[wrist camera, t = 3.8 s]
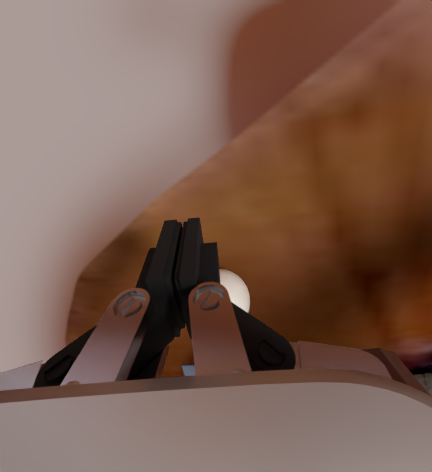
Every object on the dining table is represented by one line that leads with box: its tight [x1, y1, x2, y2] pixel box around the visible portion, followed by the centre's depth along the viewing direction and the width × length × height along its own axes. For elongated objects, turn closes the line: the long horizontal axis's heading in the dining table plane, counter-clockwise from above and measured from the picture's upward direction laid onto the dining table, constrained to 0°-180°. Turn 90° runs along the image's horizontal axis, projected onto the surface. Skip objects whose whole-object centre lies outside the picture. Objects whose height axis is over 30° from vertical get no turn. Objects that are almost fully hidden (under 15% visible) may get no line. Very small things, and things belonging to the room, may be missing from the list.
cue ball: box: [219, 269, 250, 313], centre depth 19 cm, size 6×6×6 cm
